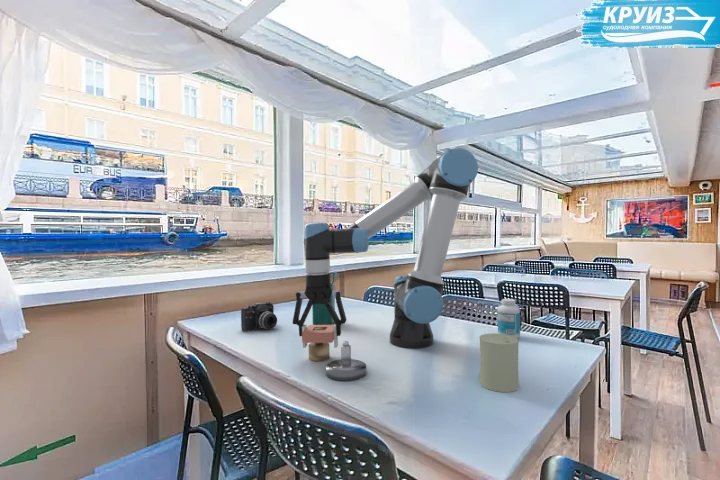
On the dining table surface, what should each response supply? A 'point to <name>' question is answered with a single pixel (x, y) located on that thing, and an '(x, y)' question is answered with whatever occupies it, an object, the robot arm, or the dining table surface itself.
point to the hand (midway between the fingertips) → (320, 346)
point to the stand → (319, 350)
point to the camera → (258, 316)
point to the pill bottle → (509, 318)
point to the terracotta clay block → (318, 334)
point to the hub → (346, 366)
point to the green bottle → (324, 308)
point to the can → (499, 362)
